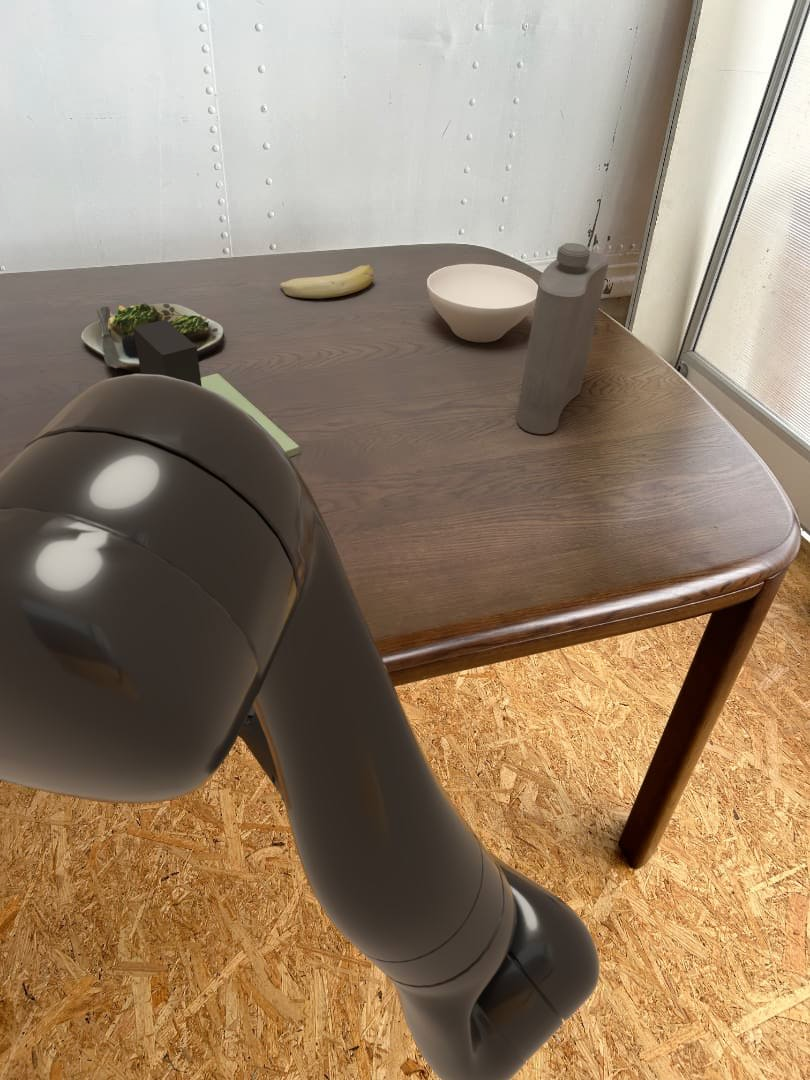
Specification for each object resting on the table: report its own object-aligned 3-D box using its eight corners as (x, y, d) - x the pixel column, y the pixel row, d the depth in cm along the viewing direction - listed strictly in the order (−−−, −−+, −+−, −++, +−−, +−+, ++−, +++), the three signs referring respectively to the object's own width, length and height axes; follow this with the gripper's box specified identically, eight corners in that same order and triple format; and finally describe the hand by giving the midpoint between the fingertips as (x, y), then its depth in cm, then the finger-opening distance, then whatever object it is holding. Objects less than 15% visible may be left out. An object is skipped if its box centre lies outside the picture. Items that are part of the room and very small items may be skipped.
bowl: (474, 367, 107) (480, 318, 102) (401, 323, 116) (403, 277, 111) (554, 338, 115) (563, 292, 110) (480, 300, 124) (485, 256, 119)
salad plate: (48, 336, 107) (40, 303, 104) (161, 301, 117) (157, 271, 114) (126, 389, 97) (119, 355, 94) (242, 346, 108) (239, 314, 105)
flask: (543, 375, 106) (570, 224, 93) (584, 386, 104) (618, 233, 91) (504, 426, 95) (530, 263, 82) (550, 439, 94) (583, 275, 81)
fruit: (385, 295, 124) (386, 275, 121) (292, 306, 118) (292, 285, 116) (368, 278, 129) (369, 258, 126) (279, 288, 123) (278, 267, 121)
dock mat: (165, 500, 81) (150, 416, 74) (94, 414, 93) (76, 335, 86) (299, 453, 89) (296, 374, 82) (218, 379, 100) (209, 305, 94)
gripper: (420, 674, 52) (294, 542, 62) (224, 782, 45) (117, 614, 55) (413, 742, 57) (297, 609, 66) (235, 849, 50) (135, 684, 60)
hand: (216, 611), depth 61 cm, fingers open, 8 cm apart
